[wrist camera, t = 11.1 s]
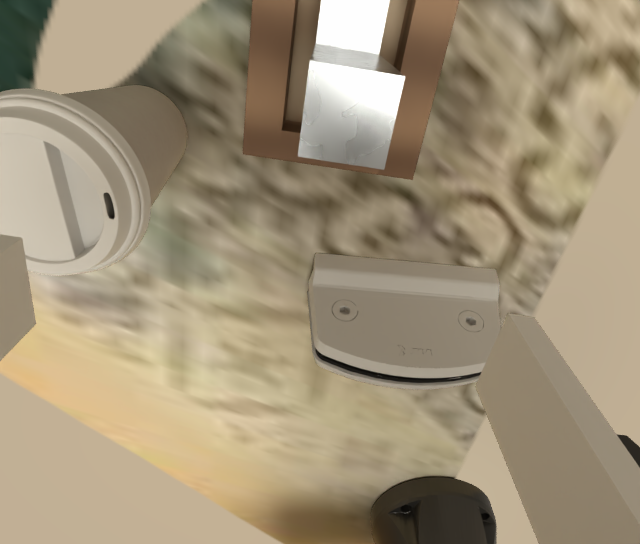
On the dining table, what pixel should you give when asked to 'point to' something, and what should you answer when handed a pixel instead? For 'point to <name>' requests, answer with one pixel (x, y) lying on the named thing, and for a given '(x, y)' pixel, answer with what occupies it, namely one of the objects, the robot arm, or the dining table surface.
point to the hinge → (402, 320)
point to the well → (293, 64)
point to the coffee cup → (84, 172)
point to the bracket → (350, 87)
